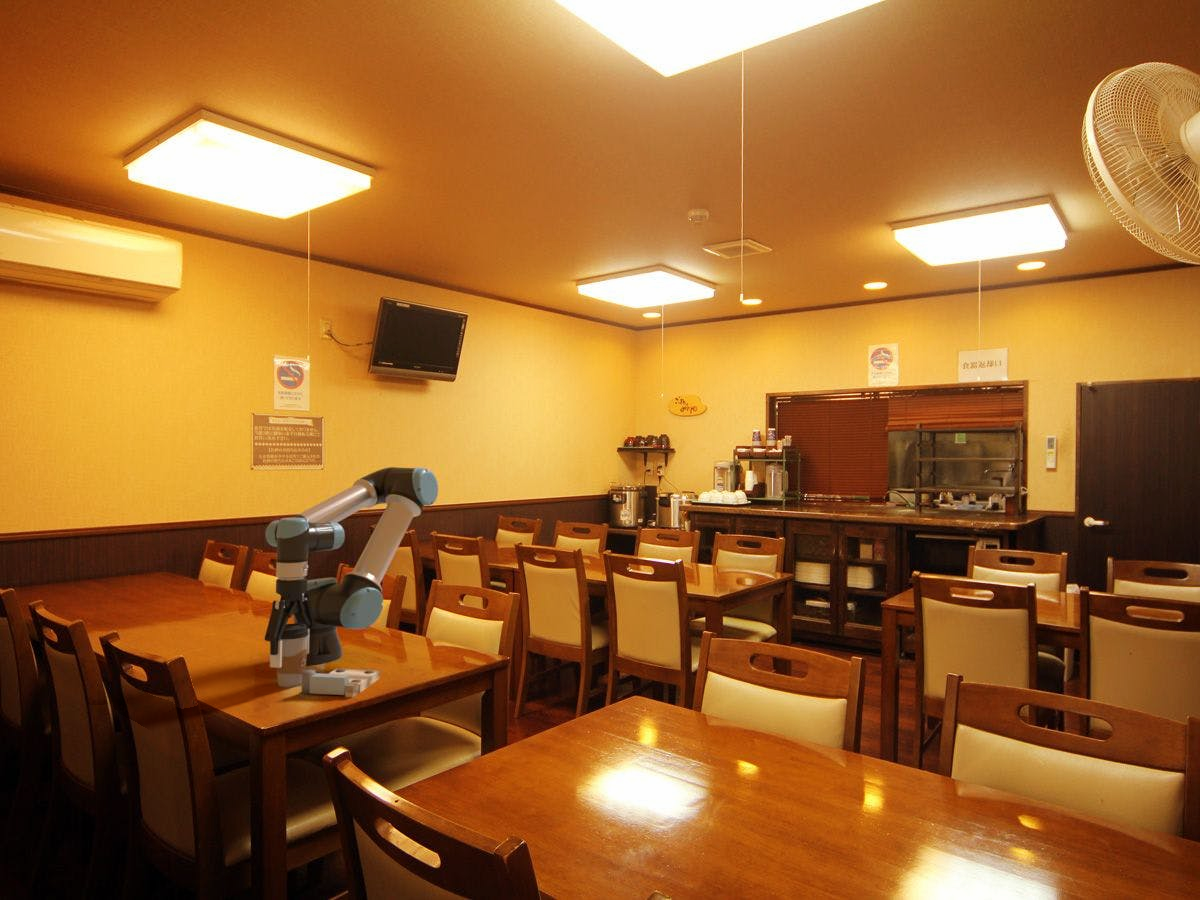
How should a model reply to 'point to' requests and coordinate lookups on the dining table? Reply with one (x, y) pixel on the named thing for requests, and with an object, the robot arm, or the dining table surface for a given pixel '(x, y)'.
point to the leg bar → (323, 683)
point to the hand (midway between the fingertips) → (290, 660)
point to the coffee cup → (293, 655)
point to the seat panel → (354, 680)
